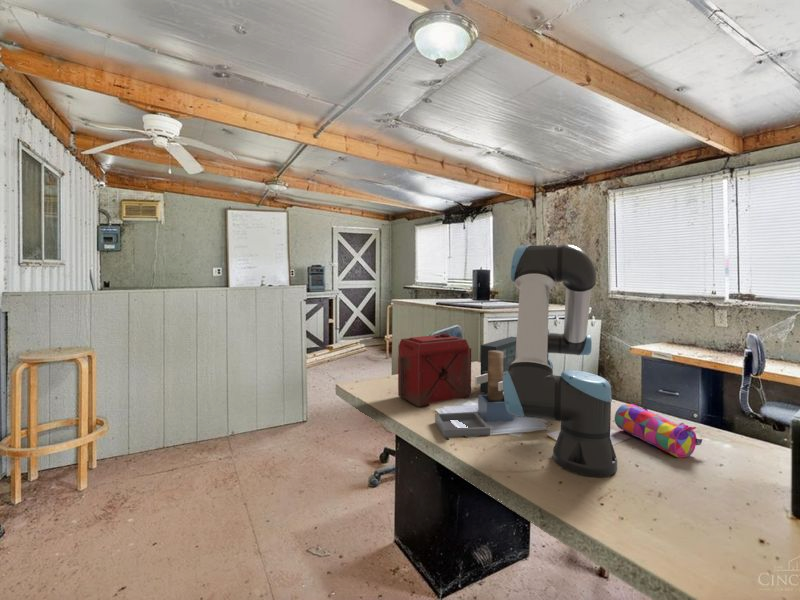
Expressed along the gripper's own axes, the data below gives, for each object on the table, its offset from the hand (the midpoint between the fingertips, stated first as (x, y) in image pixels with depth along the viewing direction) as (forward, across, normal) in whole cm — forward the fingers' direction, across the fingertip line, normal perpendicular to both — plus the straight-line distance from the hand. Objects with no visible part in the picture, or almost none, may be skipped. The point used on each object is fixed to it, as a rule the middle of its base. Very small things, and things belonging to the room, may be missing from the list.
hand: (487, 383), depth 129 cm
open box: (-5, 0, -13) cm, 14 cm away
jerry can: (-5, +30, -13) cm, 33 cm away
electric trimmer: (-39, -33, -14) cm, 53 cm away
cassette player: (-41, +21, -13) cm, 47 cm away
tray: (+11, +2, -13) cm, 17 cm away
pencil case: (-23, -42, -13) cm, 50 cm away
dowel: (-5, 0, -12) cm, 13 cm away
